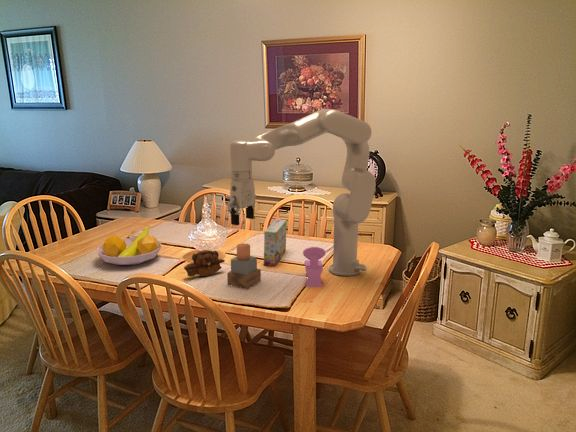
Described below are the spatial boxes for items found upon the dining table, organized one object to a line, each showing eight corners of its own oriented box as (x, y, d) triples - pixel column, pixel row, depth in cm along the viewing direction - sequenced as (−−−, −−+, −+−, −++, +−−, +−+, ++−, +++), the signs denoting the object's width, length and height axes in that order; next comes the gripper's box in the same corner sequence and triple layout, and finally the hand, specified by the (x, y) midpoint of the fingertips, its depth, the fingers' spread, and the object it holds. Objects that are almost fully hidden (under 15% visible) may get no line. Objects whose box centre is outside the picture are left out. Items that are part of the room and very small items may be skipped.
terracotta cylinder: (252, 257, 179) (252, 244, 178) (245, 261, 175) (245, 248, 174) (241, 255, 182) (241, 242, 180) (234, 259, 177) (234, 246, 176)
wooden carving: (188, 281, 181) (187, 257, 179) (183, 278, 185) (182, 253, 182) (227, 272, 191) (226, 249, 188) (221, 269, 194) (220, 246, 192)
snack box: (276, 267, 197) (276, 232, 193) (263, 266, 198) (263, 231, 195) (286, 251, 217) (287, 218, 214) (274, 250, 218) (274, 218, 215)
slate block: (256, 269, 181) (256, 257, 180) (246, 275, 175) (246, 262, 174) (241, 266, 184) (241, 254, 183) (231, 272, 178) (230, 259, 177)
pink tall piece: (323, 277, 186) (323, 241, 182) (325, 286, 177) (326, 248, 174) (301, 278, 186) (302, 241, 182) (302, 286, 177) (303, 248, 173)
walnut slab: (260, 281, 182) (260, 269, 181) (247, 290, 175) (247, 277, 173) (241, 277, 186) (240, 265, 185) (227, 285, 179) (227, 272, 178)
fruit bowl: (127, 275, 187) (124, 248, 184) (84, 262, 201) (81, 236, 198) (179, 256, 210) (177, 231, 207) (137, 245, 224) (135, 222, 221)
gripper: (236, 180, 161) (238, 228, 166) (263, 172, 176) (263, 217, 181) (218, 178, 165) (220, 226, 169) (245, 171, 180) (247, 215, 184)
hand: (242, 221), depth 175 cm, fingers open, 9 cm apart
